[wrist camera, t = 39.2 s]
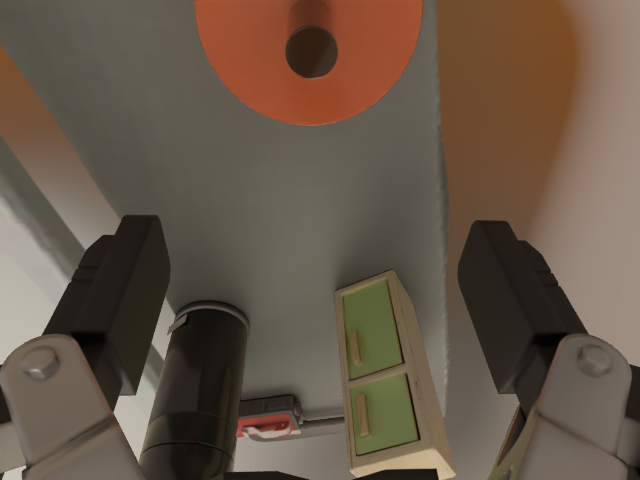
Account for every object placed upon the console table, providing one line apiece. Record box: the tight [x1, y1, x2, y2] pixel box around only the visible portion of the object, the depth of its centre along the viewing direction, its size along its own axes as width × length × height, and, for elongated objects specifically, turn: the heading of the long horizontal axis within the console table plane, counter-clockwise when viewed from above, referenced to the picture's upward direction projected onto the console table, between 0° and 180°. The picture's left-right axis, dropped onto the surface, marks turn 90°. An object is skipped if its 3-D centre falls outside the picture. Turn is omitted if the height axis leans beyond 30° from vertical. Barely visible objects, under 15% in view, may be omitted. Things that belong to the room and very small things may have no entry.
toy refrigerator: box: [334, 270, 456, 480], centre depth 47 cm, size 8×7×21 cm
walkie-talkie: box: [237, 396, 345, 438], centre depth 71 cm, size 9×4×20 cm
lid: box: [195, 0, 423, 125], centre depth 25 cm, size 13×13×6 cm
